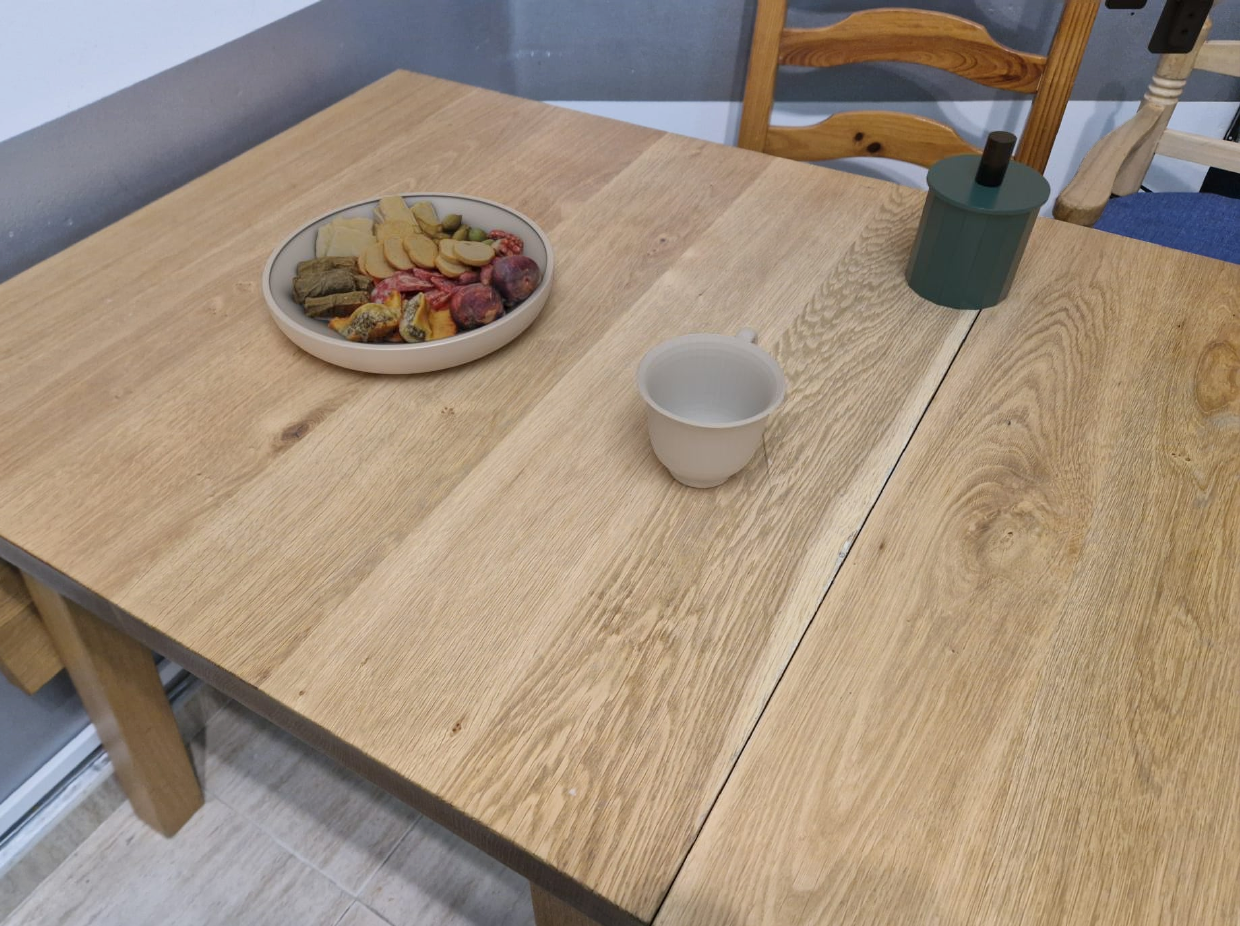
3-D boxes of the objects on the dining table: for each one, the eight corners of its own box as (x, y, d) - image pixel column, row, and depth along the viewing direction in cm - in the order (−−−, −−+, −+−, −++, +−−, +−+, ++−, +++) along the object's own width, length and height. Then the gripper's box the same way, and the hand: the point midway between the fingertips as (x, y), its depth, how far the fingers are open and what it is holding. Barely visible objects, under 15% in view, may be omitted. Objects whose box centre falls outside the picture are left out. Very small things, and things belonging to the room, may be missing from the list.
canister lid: (1027, 164, 97) (1046, 111, 93) (1062, 222, 89) (1085, 165, 85) (914, 163, 98) (928, 110, 94) (938, 220, 90) (954, 164, 86)
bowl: (216, 358, 94) (193, 291, 89) (356, 214, 114) (344, 152, 108) (493, 417, 87) (486, 348, 82) (591, 253, 107) (591, 188, 101)
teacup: (801, 430, 86) (821, 340, 78) (736, 535, 77) (751, 444, 70) (682, 388, 90) (690, 300, 83) (607, 483, 81) (609, 393, 74)
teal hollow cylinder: (992, 260, 105) (1027, 161, 96) (1018, 315, 97) (1058, 213, 89) (896, 258, 105) (922, 160, 97) (915, 313, 98) (945, 212, 90)
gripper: (1377, -213, 58) (1239, 72, 70) (1251, -257, 70) (1152, -7, 82) (1252, -211, 58) (1136, 71, 71) (1148, -255, 70) (1064, -7, 83)
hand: (1144, 29), depth 76 cm, fingers open, 9 cm apart
